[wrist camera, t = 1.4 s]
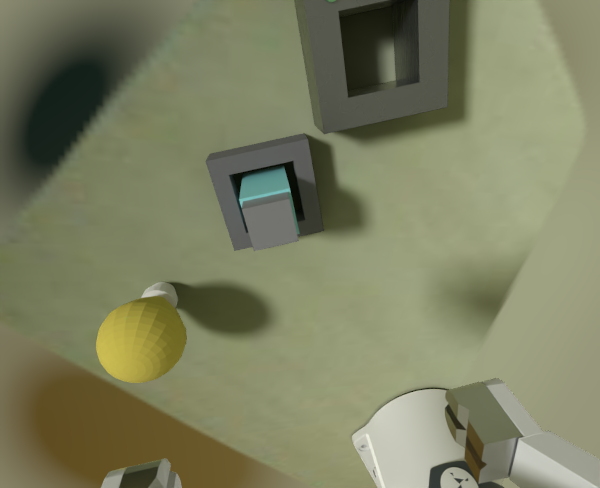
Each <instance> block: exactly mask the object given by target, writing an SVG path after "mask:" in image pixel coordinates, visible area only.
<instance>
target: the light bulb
mask: <svg viewBox="0 0 600 488" xmlns="http://www.w3.org/2000/svg"><path fill="white" fill-rule="evenodd" d="M177 302H178V296H177V295H176V290H175V288H174V287H173V286H172V285H171V284H169V283H166V282H158V283H156V284H154V285H153V286H151V287H149V288H147V289H146V290H145V292H144V293H143V295H142V297H141V298H140V299H136V300H134V301H131V302H129V303H127V304H124V305H122V306H120V307H118V308H117V309H115V310H114V311H112V312H111V313H110V314H109V315H108V316H107V318H106V319H105V321H104V322H103V323H102V325H101V327H100V329H99V332H98V337H97V343H96V350H97V353H98V357H99V360H100V363H101V364H102V365H103V367H104V368H105V369H106V371H107V372H108V373H110V374H111V375H112V376H114V377H115V378H117V379H120V380H122V381H125V382H131V383H141V382H147V381H151V380H154V379H157V378H159V377H160V376H162V375H164V374H165V373H167V372H168V371H170V370H171V369H172V367H173V366H174V365H175V364H176V363H177V362H178V361H179V359H180V358H181V356H182V353H183V350H184V347H185V344H186V340H187V336H186V328H185V326H184V324H183V322H182V320H181V318H180V316H179V314H178V312H177V310H176V306H177Z"/></svg>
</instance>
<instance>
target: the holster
mask: <svg viewBox="0 0 600 488" xmlns="http://www.w3.org/2000/svg"><path fill="white" fill-rule="evenodd" d="M290 161H292V162H293V167H294V172H295V177H296V182H297V187H298V192H299V196H300V201H301V206H302V210H297V211H295V214H296V219H297V224H298V228H299V233H300V234H297V236H298V237H299V236H303V235H308V234H313V233H317V232H322V231H324V229H323V223H322V217H321V211H320V206H319V200H318V194H317V188H316V183H315V177H314V171H313V166H312V160H311V154H310V148H309V143H308V138H307V137H306V136H305V134H299V135H295V136H290V137H286V138H281V139H276V140H272V141H267V142H263V143H258V144H254V145H249V146H244V147H240V148H235V149H231V150H226V151H222V152H217V153H212V154H210V155H209V156H208V158H207V160H206V164H207V167H208V170H209V173H210V176H211V179H212V182H213V185H214V189H215V192H216V195H217V198H218V201H219V204H220V207H221V210H222V213H223V216H224V219H225V222H226V226H227V229H228V232H229V235H230V238H231V241H232V244H233V247H234V250H235V251H236V250H240V249H245V248H249V247H253V246H252V242H251V239H250V235H249V232H248V229H247V225H246V222H245V218H244V215H243V212H242V207H241V204H240V201H239V197H240V196H239V193H238V189H237V186H236V182H235V179H234V175H233V174H236V173H240V172H245V171H249V170H254V169H258V168H263V167H267V166H272V165H277V164H281V163H286V162H290Z"/></svg>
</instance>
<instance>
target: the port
mask: <svg viewBox="0 0 600 488" xmlns="http://www.w3.org/2000/svg"><path fill="white" fill-rule="evenodd" d="M389 6H392V11H393V31H394V51H395V71H396V80H395V81H391V82H386V83H381V84H377V85H372V86H368V87H363V88H358V89H354V90H349V91H347V83H346V74H345V65H344V56H343V48H342V39H341V30H340V21H339V17H343V16H347V15H352V14H356V13H361V12H366V11H370V10H375V9H380V8H384V7H389ZM295 7H296V13H297V19H298V25H299V31H300V37H301V44H302V50H303V56H304V62H305V68H306V74H307V81H308V87H309V93H310V99H311V105H312V111H313V118H314V124H315V126H316V127H317V128H318V129H319V130H320V131H322V132H323V133H324V134H327V133H331V132H336V131H340V130H345V129H349V128H354V127H359V126H363V125H368V124H372V123H377V122H381V121H386V120H391V119H395V118H400V117H404V116H409V115H413V114H418V113H423V112H427V111H432V110H436V109H441V108H445V107H448V52H449V0H295Z"/></svg>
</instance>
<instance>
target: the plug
mask: <svg viewBox="0 0 600 488" xmlns="http://www.w3.org/2000/svg"><path fill="white" fill-rule="evenodd" d="M239 201H240V204H241V207H242V212H243V215H244V218H245V222H246V225H247V229H248V232H249V235H250V239H251V242H252V246H253V249H254V251H256V250H261V249H265V248H270V247H274V246H279V245H283V244H288V243H292V242H297V241H299V240H298V236H297V234H300V233H299V228H298V224H297V219H296V214H295V210H294V205H293V200H292V196H291V191H290V187H289V183H288V179H287V176H286V172H285V168H284V165H280V166H276V167H271V168H267V169H262V170H257V171H253V172H248V173H244V174H243V176H242V183H241V190H240V197H239Z"/></svg>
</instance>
